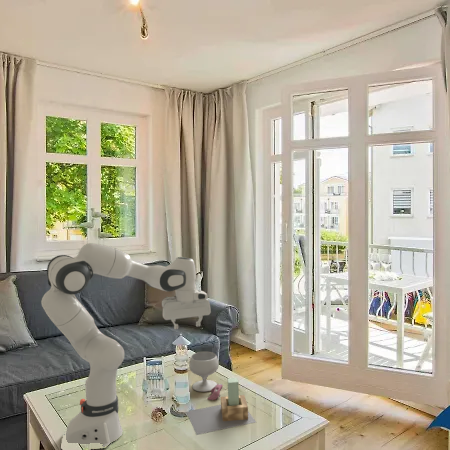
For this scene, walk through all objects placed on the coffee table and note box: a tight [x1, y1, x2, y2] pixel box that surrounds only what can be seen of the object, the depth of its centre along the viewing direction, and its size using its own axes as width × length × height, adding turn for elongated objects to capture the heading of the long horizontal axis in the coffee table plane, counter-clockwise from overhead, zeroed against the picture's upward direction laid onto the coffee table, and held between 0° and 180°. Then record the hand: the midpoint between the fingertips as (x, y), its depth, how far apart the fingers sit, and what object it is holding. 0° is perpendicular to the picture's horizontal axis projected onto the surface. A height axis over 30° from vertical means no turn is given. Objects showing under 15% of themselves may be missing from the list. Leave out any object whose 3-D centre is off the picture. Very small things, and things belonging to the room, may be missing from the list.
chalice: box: [188, 351, 220, 393], centre depth 194 cm, size 14×14×15 cm
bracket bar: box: [226, 377, 240, 406], centre depth 166 cm, size 4×4×14 cm
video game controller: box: [207, 382, 224, 401], centre depth 183 cm, size 10×5×7 cm, turn 170°
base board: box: [186, 404, 257, 436], centre depth 164 cm, size 24×18×2 cm
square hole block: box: [220, 394, 249, 421], centre depth 166 cm, size 10×10×5 cm
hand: (187, 327), depth 173 cm, fingers open, 8 cm apart
